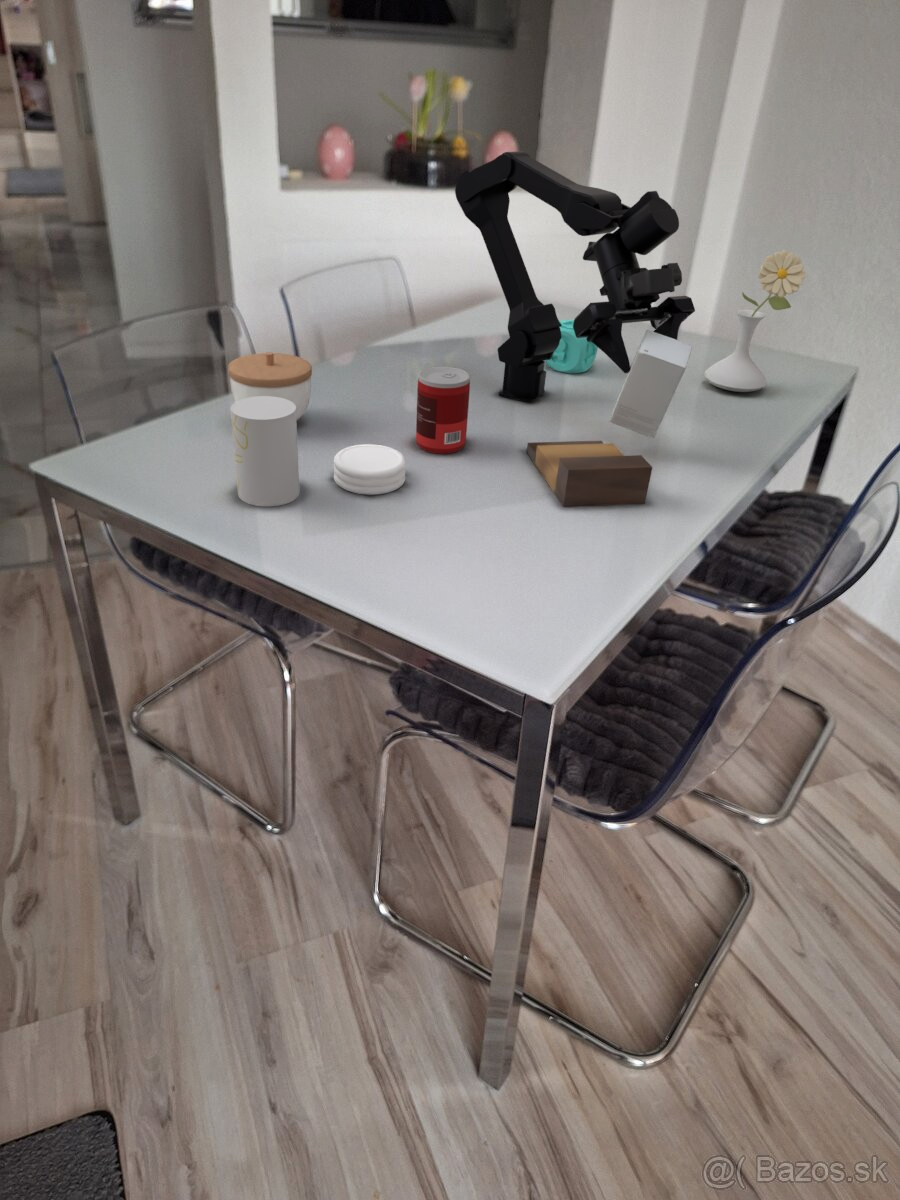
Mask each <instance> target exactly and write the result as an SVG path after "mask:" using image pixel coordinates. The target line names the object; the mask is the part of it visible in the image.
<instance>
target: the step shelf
mask: <svg viewBox="0 0 900 1200" xmlns="http://www.w3.org/2000/svg"><path fill="white" fill-rule="evenodd" d="M526 453H527V454H528V456H529V457H530V459H531V461H532V462H533V464H534V465H535V466H536V468H537V469H538V471H539V472H540V474H541V476H542V477H543V478H544V480H545V481H546V483H547V484H548V486H549V488H550V489H551V490H552V492H553V493H554V496H556V498H557V499H558V501H559V503H560V504H561V506H562V507H563V508H570V507H571V508H572V507H589V506H591V507H592V506H594V507H595V506H613V505H615V506H616V505H637V504H646V501H647V497H648V492H649V486H650V483H651V482H650V481H651V477H652V471H653V466H652V465H651V464H650V462H649V461H647V460H646V458H645V457H644V456H643V455H642V454H637V455H636V454H635V455H633V454H632V455H631V454H630V455H624V454H623V453H622V452H621V451H620V449H619V448H618V447H617V446H616V445H615V444H614V443H612V442H611V443H604V442H603V440H573V441H543V442H542V441H539V442H537V441H536V442H527V445H526Z"/></svg>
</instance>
